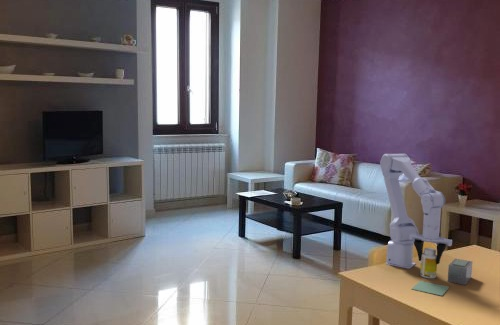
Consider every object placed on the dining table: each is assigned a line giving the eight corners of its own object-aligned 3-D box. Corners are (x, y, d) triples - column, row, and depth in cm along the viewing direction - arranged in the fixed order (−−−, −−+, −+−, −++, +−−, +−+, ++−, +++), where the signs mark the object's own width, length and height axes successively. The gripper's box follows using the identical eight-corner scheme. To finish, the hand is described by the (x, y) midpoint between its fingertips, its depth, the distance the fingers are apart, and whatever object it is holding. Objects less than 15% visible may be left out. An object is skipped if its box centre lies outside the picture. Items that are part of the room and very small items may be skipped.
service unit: (447, 281, 180) (448, 264, 179) (454, 273, 188) (455, 257, 188) (465, 285, 177) (466, 267, 176) (471, 277, 185) (472, 260, 184)
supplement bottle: (439, 278, 183) (441, 250, 182) (427, 279, 181) (430, 252, 180) (427, 273, 188) (430, 246, 187) (416, 274, 186) (418, 247, 185)
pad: (411, 289, 171) (411, 288, 171) (420, 281, 179) (420, 280, 179) (442, 296, 166) (442, 295, 166) (449, 287, 174) (449, 286, 174)
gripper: (407, 224, 183) (405, 260, 185) (449, 230, 175) (447, 268, 177) (413, 220, 189) (411, 256, 191) (454, 226, 181) (451, 263, 183)
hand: (429, 261), depth 184 cm, fingers open, 5 cm apart
